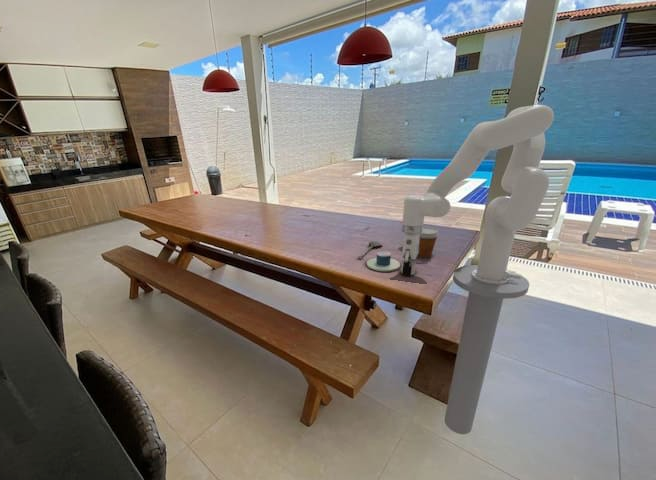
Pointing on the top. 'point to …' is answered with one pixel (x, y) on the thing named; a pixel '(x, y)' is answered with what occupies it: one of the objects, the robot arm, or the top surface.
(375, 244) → the soupspoon
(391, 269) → the saucer
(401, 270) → the cylinder
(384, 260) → the cylinder
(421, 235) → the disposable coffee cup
